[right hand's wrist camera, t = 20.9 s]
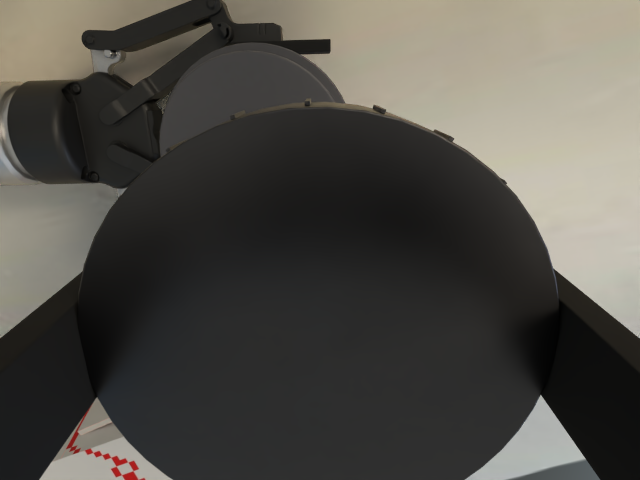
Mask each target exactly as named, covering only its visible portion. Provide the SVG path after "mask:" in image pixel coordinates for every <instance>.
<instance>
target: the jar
mask: <svg viewBox="0 0 640 480" xmlns="http://www.w3.org/2000/svg"><path fill="white" fill-rule="evenodd" d="M307 98H311V102H332V103H342V104H345V102H344V100H343V97H342V96H341V94H340V92H339V91H338V89H337V88H336V86H335V85H334V83H333V82H332V81H331V80H330V79H329V77H328V76H327V75H326V74H325V73H324V72H323V71H322V70H321V69H320V68H319V67H317V66H316V65H315V64H314V63H312V62H311V61H309V60H308V59H307V58H305V57H304V56H302V55H300V54H298V53H296V52H294V51H292V50H289V49H286V48H283V47H280V46H277V45H272V44H267V43H253V42H251V43H240V44H234V45H230V46H226V47H223V48H221V49H218V50H215V51H213V52H211V53H209V54H208V55H206V56H204V57H202V58H201V59H200V60H198V61H197V62H196V63H195V64H193V65H192V66H191V67H190V68H189V69H188V70H187V71H186V72H185V73H184V74H183V75H182V76H181V78H180V79H179V81H178V82H177V84H176V85H175V86H174V88H173V90H172V92H171V94H170V96H169V98H168V101H167V104H166V107H165V110H164V114H163V117H162V122H161V127H160V140H159V143H160V155H161V157H162V156H163V155H165V154H166V153H167V152H166V149H167V148H169V147H171V146H173V145H175V144H178V143H180V142H182V141H184V140H188V139H190V138H192V137H194V136H196V135H198V134H200V133H202V132H204V131H206V130H208V129H211V128H213V127H215V126H217V125H219V124H221V123H223V122H226V121H228V120H230V119H231V118H230V116H231V115H233V114H236V113H238V112H240V111H243V110H245V113H246V114H247V113H250V112H254V111H257V110H260V109H263V108H269V107H274V106H280V105H286V104H291V103H305V100H306V99H307Z"/></svg>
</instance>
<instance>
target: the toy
mask: <svg viewBox="0 0 640 480" xmlns="http://www.w3.org/2000/svg"><path fill="white" fill-rule="evenodd" d="M39 480H172V479H171V478H169V477H168V476H166V475H165V474H164V473H162V472H161V471H160V470H158V469H157V468H156V467H155V466H153V465H152V464H151V463H150V462H148V461H147V460H146V459H145V458H144V457H143V456H142V455H141V454H140V453H139V452H138V451H137V450H136V449H135V448H134V447H133V446H132V445H131V444H130V443H129V442H128V441H127V440H126V439H125V438H124V436H123V435H122V434H121V433H120V431H119V430H118V429H117V428H116V426H115V425H114V424H113V422H112V421H111V420H110V418H109V416H108V415H107V413H106V411H105V410H104V408H103V406H102V405H101V403H100V401H99V400H98V398H96V399H95V401H94V402H93V404H92V405H91V407H90V408H89V409H88V411H87V412H86V414H85V415H84V417H83V418H82V419H81V421H80V422H79V424H78V425H77V427H76V428H75V429H74V431H73V432H72V434H71V435H70V437H69V438H68V439H67V441H66V442H65V444H64V445H63V447H62V448H61V449H60V451H59V452H58V454H57V455H56V457H55V458H54V459H53V461H52V462H51V464H50V465H49V467H48V468H47V469H46V471H45V472H44V474H43V475H42V477H41V478H40V479H39Z"/></svg>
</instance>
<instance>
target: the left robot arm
mask: <svg viewBox="0 0 640 480" xmlns="http://www.w3.org/2000/svg"><path fill="white" fill-rule="evenodd" d="M209 23H212V26H213V28H214V29H213V30H211V31H210V32H209V33H207V34H206V35H204V36H203V37H202V38H200V39H199V40H198V41H196V42H195V43H194V44H192V45H191V46H190V47H188V48H187V49H186V50H184V51H183V52H182V53H180V54H179V55H177V56H176V57H175V58H173V59H172V60H171V61H169V62H168V63H167V64H165V65H164V66H163V67H161V68H160V69H159V70H157V71H156V72H155V73H153V74H152V75H151V76H149V77H147V78H145V79H143V80H141V81H140V82H138V83H137V84H136V85H134V86H132V85H131V84H129V83H128V82H126V81H125V80H123V79H122V78H120V77H119V76H117V75H115V74H114V73H113V70H114V67H115V66H116V65H117V64H120V63H122V62H124V61H125V59H126V52H133V51H138V50H141V49H144V48H146V47H149V46H152V45H154V44H157V43H159V42H162V41H164V40H167V39H170V38H172V37H175V36H177V35H180V34H183V33H185V32H188V31H190V30H193V29H196V28H198V27H201V26H203V25H206V24H209ZM82 42H83V44H84V45H85V47H87V48H88V49H91V55H92V62H93V69H94V73H92V74H91V75H89V76H88V77H86V78H84V79H81V80H50V81H28V82H25V83H22V82H0V185H36V184H41V183H46V184H73V183H104V184H107V185H109V186H111V187H113V188H116V190H117V194H118V198H119V196H120V195H121V194H123V192H124V191H125V190H126V189H127V187H128V186H129V185H130V184H131V183H132V182H133V181H134V180H135V179H136V178H137V177H138V176H139V175H141V174H142V173H143V172H144V171H145V170H146V169H147V168H148V167H149V166H150V165H151V164H152V163H153V162H155V161H156V160H157V159H159V158H160V157H161V155H160V143H159V140H160V127H161V122H162V117H163V116H162V109H159V108H158V106H157V104H156V103H157V102H158V101H160V100H161V99H162V98H164V97H165V96H167V95H168V94H169V93H170V91H172V90H173V88H174V86H175V85H176V84H177V82H178V81H179V79H180V78H181V76H182V75H183V74H184V73H185V72H186V71H187V70H188V69H189V68H190V67H191V66H192V65H193V64H195V63H196V62H197V61H198V60H200V59H201V58H202V57H204V56H206V55H208V54H209V53H211V52H213V51H215V50H218V49H221V48H223V47H226V46H230V45H234V44H240V43H251V42H253V43H267V44H272V45H277V46H280V47H283V48H286V49H289V50H292V51H294V52H296V53H298V54H329V53H330V51H331V50H330V39H322V40H285V41H283V39H282V28H281V26H279V25H277V24H274V23H259V24H258V23H256V24H236V23H234V22H233V21H232V19H231V17H230V15H229V12H228V10H227V6H226V4H225V3H224V2H223V1H222V0H191V1H189V2H186V3H184V4H181V5H179V6H176V7H173V8H171V9H168V10H166V11H163V12H161V13H158V14H156V15H153V16H151V17H148V18H146V19H143V20H140V21H138V22H135V23H133V24H130V25H128V26H125V27H123V28H120V29H118V30H115V31H102V30H88V31H85V32H84V33H83V35H82Z"/></svg>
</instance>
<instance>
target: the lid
mask: <svg viewBox="0 0 640 480" xmlns="http://www.w3.org/2000/svg"><path fill="white" fill-rule="evenodd" d="M230 118H231V119H230V120H228V121H226V122H223V123H221V124H219V125H217V126H215V127H213V128H211V129H208V130H206V131H204V132H202V133H200V134H198V135H196V136H194V137H192V138H190V139H188V140H184V141H182V142H180V143H178V144H175V145H173V146H171V147H169V148H167V149H166V152H167V153H166V154H165V155H163V156H162V157H160V158H159V159H157V160H156V161H155V162H153V163H152V164H151V165H150V166H149V167H148V168H147V169H146V170H145V171H144V172H143V173H142V174H141V175H139V176H138V177H137V178H136V179H135V180H134V181H133V182H132V183H131V184H130V185H129V186H128V187H127V189H126V190H125V191H124V192H123V194H121V195H120V196H119V198H118V200H117V201H116V202H115V204H114V205H113V206H112V208H111V209H110V210H109V212H108V214H107V215H106V217H105V219H104V221H103V223H102V224H101V226H100V228H99V230H98V231H97V233H96V235H95V237H94V239H93V242H92V245H91V248H90V250H89V253H88V256H87V258H86V261H85V264H84V268H83V273H82V278H81V283H80V288H79V293H78V317H77V323H78V330H79V335H80V340H81V345H82V349H83V354H84V358H85V363H86V367H87V371H88V375H89V379H90V382H91V384H92V386H93V388H94V391H95V393H96V395H97V398H98V400H99V401H100V403H101V405H102V406H103V408H104V410H105V411H106V413H107V415H108V416H109V418H110V420H111V421H112V422H113V424H114V425H115V426H116V428H117V429H118V430H119V431H120V433H121V434H122V435H123V436H124V438H125V439H126V440H127V441H128V442H129V443H130V444H131V445H132V446H133V447H134V448H135V449H136V450H137V451H138V452H139V453H140V454H141V455H142V456H143V457H144V458H145V459H146V460H147V461H148V462H150V463H151V464H152V465H153V466H155V467H156V468H157V469H158V470H160V471H161V472H162V473H164V474H165V475H166V476H168V477H169V478H171V479H172V480H465V479H466V478H468V477H469V476H470V475H472V474H473V473H475V472H476V471H477V470H479V469H480V468H482V467H483V466H484V465H485V464H486V463H487V462H488V461H490V460H491V459H492V458H493V457H494V456H495V455H496V454H497V453H499V452H500V451H501V450H502V449H503V448H504V446H505V445H506V444H507V443H508V442H509V441H510V440H511V439H512V437H513V436H514V435H515V434H516V433H517V432H518V431H519V429H520V428H521V426H522V425H523V423H524V422H525V420H526V419H527V417H528V416H529V415H530V413H531V412H532V410H533V409H534V407H535V405H536V403H537V401H538V399H539V397H540V395H541V393H542V391H543V389H544V387H545V385H546V382H547V379H548V376H549V373H550V370H551V367H552V364H553V361H554V356H555V351H556V345H557V339H558V334H559V299H558V292H557V284H556V277H555V273H554V270H553V267H552V263H551V260H550V256H549V253H548V250H547V247H546V245H545V243H544V241H543V239H542V237H541V235H540V233H539V230H538V228H537V226H536V224H535V222H534V221H533V219H532V218H531V216H530V215H529V213H528V212H527V210H526V209H525V207H524V206H523V204H522V203H521V202H520V200H519V199H518V197H517V196H516V195H515V194H514V192H513V191H512V190H511V189H510V188H509V187H508V186H507V185H506V184H507V183H506V182H505V180H503V179H501V178H499V177H498V176H497V174H496V173H495V172H494V171H492V170H491V169H490V168H489V167H487V166H486V165H485V164H484V163H482V162H481V161H480V160H478V159H477V158H476V157H475V156H473V155H472V154H471V153H470V152H468V151H467V150H465V149H464V148H462V147H460V146H458V145H457V144H455V143H453V140H454V138H453V137H451V136H449V135H447V134H444V133H442V132H440V131H437V130H434V131H431V130H429V129H427V128H425V127H423V126H420V125H418V124H416V123H413V122H411V121H408V120H406V119H403V118H401V117H398V116H396V115H393V114H391V113H388V112H386V109H384V108H381V107H379V106H377V105H374V106H373V109H372V108H368V107H363V106H359V105H352V104H342V103H332V102H311V98H307V99H306V100H305V103H291V104H286V105H280V106H274V107H269V108H263V109H260V110H257V111H254V112H250V113H247V114H246V113H245V110H243V111H240V112H238V113H236V114H233V115H231V116H230Z"/></svg>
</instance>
